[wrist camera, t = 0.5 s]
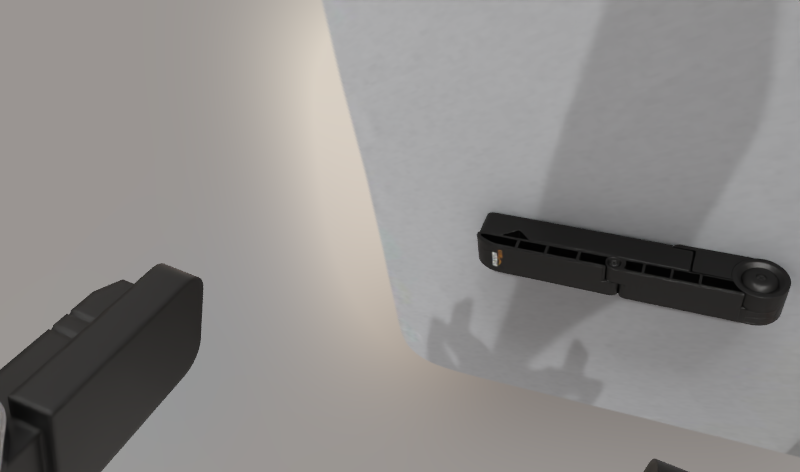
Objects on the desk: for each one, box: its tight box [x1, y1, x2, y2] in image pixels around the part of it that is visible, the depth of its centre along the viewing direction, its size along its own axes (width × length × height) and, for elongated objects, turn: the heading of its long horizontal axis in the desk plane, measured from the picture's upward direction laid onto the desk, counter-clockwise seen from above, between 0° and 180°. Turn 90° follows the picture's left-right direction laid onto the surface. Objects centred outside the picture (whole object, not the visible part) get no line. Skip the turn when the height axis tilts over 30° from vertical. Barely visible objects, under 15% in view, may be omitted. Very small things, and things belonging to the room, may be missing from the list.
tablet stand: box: [477, 213, 791, 325], centre depth 45 cm, size 18×3×3 cm, turn 99°
